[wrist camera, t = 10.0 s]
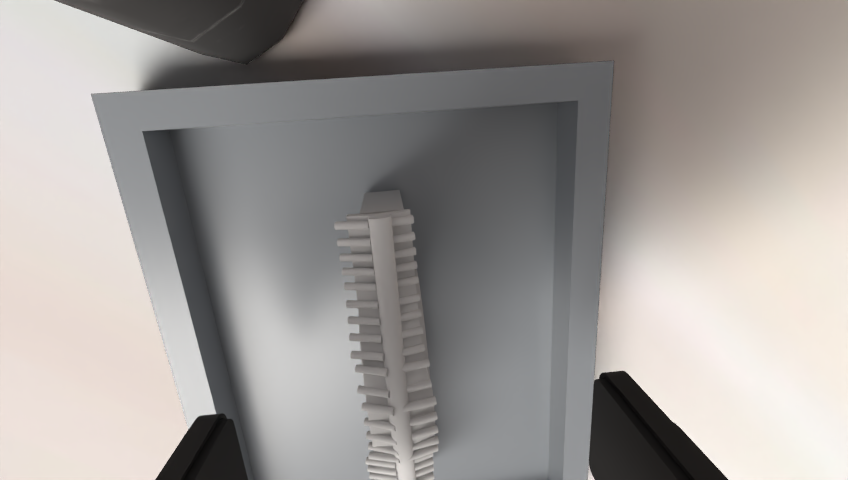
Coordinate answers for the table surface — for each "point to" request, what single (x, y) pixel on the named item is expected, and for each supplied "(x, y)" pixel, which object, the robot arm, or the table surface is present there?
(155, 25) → the cash box
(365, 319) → the white toothed rack
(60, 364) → the table surface
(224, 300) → the tray
